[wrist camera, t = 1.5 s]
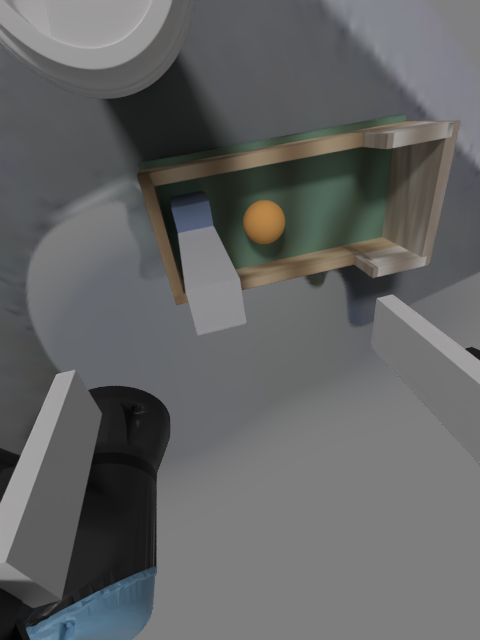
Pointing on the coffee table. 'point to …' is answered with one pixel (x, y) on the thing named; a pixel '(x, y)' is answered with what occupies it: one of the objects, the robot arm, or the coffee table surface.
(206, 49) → the coffee table surface
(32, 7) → the coffee cup
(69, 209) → the coffee table surface
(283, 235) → the wooden tray
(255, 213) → the ball
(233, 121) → the coffee table surface
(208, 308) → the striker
